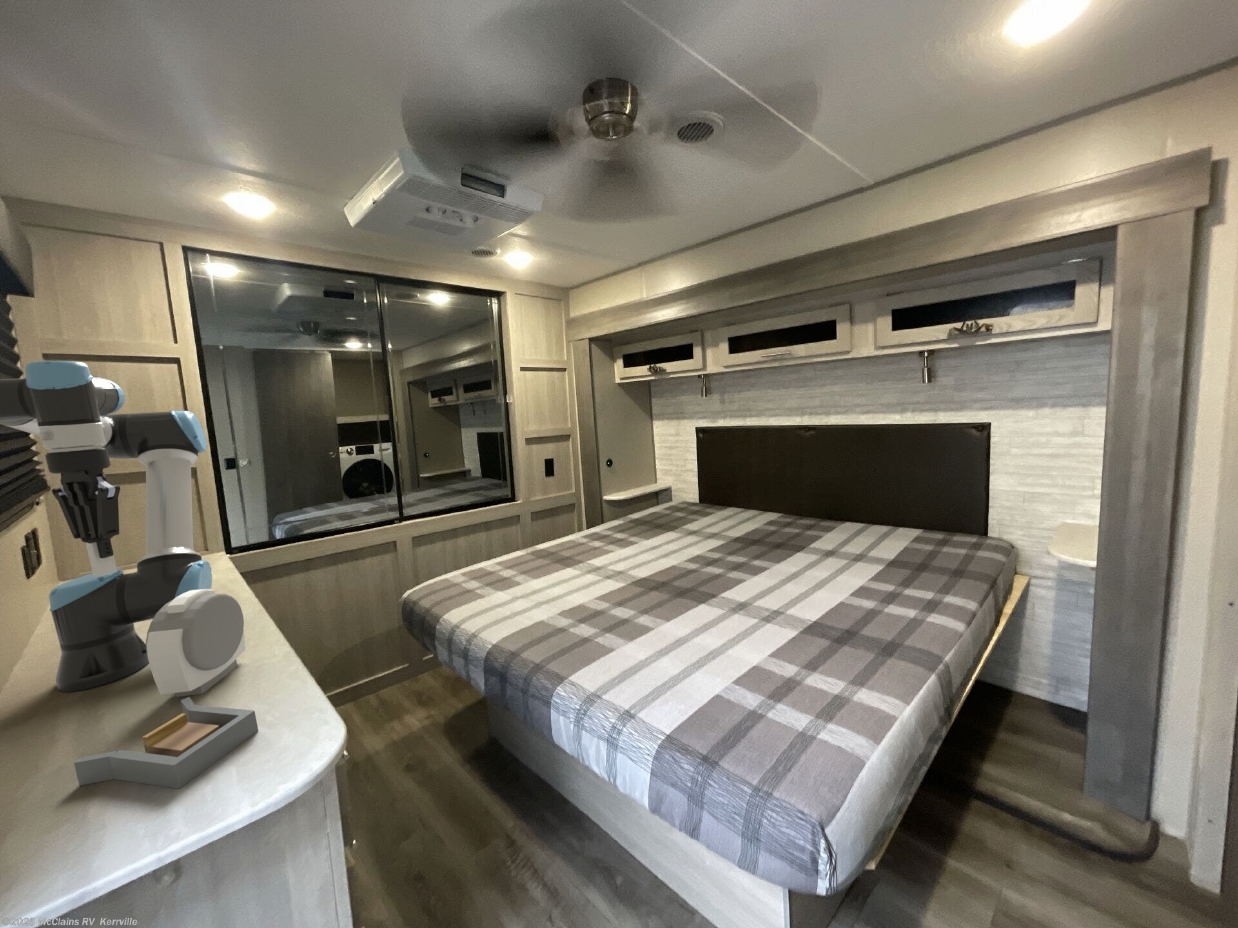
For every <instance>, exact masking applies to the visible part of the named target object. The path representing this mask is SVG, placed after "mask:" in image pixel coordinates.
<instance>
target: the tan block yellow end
mask: <svg viewBox="0 0 1238 928" xmlns="http://www.w3.org/2000/svg"><path fill="white" fill-rule="evenodd" d="M219 729H220V727H219V725H210V724H201V723H191V722H188V720H187V715H186V714H184V713H180V714H178V715H176V716H175V717H174V718H172V719H170V720H168V721H167V722H165V723H163V724H162V725H160V726H158V727H157V728H155V729H153V730H152V731H150V732H148V733H147V734H145V735H143V736H142V742H143V745H144V746H143V747H144V751H145V753H149V754H157V755H165V756H173V757H178V756H180V755H181V754H183V753H184V752H186V751H187V750H189V749H190V748H192V747H193V746H195V745H196V744H198V743H199V742H201V741H202V740H204V739H205V738H207V737H208V736H210V735H211V734H213V733H214V732H216V731H217V730H219Z"/></svg>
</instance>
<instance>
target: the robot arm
mask: <svg viewBox="0 0 1238 928" xmlns="http://www.w3.org/2000/svg"><path fill="white" fill-rule="evenodd" d="M24 369H25V370H24V371H25V378H0V425H1V426H5V427H8V428H9V427H10V428H12V429H15V430H19V431H22V432H26V433H28V434H32V435H34V436H35V435H36V436H38V438H40V439H41V442H42V446H43V449H45V450H49V452H47V453H46V454H45V455H44V456H45V460H46V465H47V467H48V472H49V473H51V474H55V475H57V474H58V475H59V474H60V480H59V481H60V484H61V485H60V487H57V488H52V489H51V493H52V495H53V496H54V498H55V499H56V500H57V502H58V504H59V506H60V508H61V511H62V513H63V516H64V518H65V520H66V523H67V526H68V528H69V530H70V532H71V535H72V537H73V538H74V539H76V540H77V539H80V540H81V542H83V543H85V546H86V552H87V555H88V559H89V563H90V567H91V572H92V573H89V574H86V575H83V576H80V577H77V578H73V579H70V580H69V581H68V580H67V581H66V582H64V583H61V584H59V585H57V586H55V587H54V588H52V590H50V592H49V595H48V599H49V607H50V608H49V612H51V616H52V619H53V623H54V624H53V625H54V628H55V632H56V635H57V639H58V642H59V647H60V651H61V655H60V659H59V663H58V668H57V671H56V674H55V675H56V676H55V684H56V688H57V690H58V691H60V690H61V691H60V692H65V693H66V692H69V693H70V692H77V691H84V690H88V689H92V688H96V687H100V686H103V685H106V684H109V683H111V682H114V681H115V682H116V681H117V680H121V679H122V678H125V677H127V676H129V675H132V674H134V673H135V672H137V671H139V670H141V669H142V668H144V667H146V666H147V665H148V664H149V660H148V655H147V652H146V642H145V641H144V640H143V639H142V638H141V636H140V635H139V634H138V632H137V631H136V628H135V623H141V622H145V621H150V620H151V621H152V620H153V618H154V617H155V615H156V613H157V612H158V611H159V610H160V609H161V608H162V607H163V606H164V605H165V604H167V603H168V602H170V601H171V600H173V599H175V598H176V597H178V596H179V595H181V594H183V593H185V592H188V591H190V590H200V589H212V585H213V584H212V583H213V574H212V566H211V564H210V563H209V561H208V560H204V559H203V557H202V555H201V554H200V553H199V552H197V551H195V550H194V530H193V529H194V528H193V527H194V526H193V525H194V524H193V500H192V499H193V497H192V496H193V494H192V492H193V491H192V489H193V488H192V466H193V465H194V464H195V463H197V462H198V461H199V454H203V453H205V452H206V451H207V447H208V446H207V441H206V437H205V436H206V435H205V433H204V431H203V427H202V426H201V424H200V421H199V419H198V418H197V415H195V413H193V412H191V411H188V410H169V411H151V412H136V413H132V412H131V413H116V412H118V411H119V410H120V409H121V408H122V407H123V406H124V404H125V401H126V395H125V393H124V391H123V388H121V387H120V386H119V385H118V384H117V383H115V382H114V381H112V380H110V379H107V378H104V377H100V376H93V375H92V374H91V372H90V368H89V366H88V365H87V364H86V363H84V362H81V361H74V360H71V361H70V360H40V361H38V360H37V361H32V362H31V361H30V362H28V363H26V365H25V366H24ZM115 413H116V414H115ZM110 459H121V460H128V459H130V460H131V459H137V462H139V463H140V464H142V465H143V466H144V467H145V537H146V538H145V548H146V549H145V555H144V556H143V557H142V558H140V559H139V560H138V561H137V563H136V571H134V572H130V573H124V571H123V570H122V569H121V568H120V567H117V564H116V560H115V554H114V549H113V545H112V542H111V541H112V540H111V539H112V538H113V537H115V536H118V535H120V515H119V513H120V512H119V497H120V496H119V495H120V492H121V486H120V484H119V485H118V484H114V485H112V484H110V483H108V479H107V476H106V475H105V472H104V469H107V468H108V469H109V467H111V465H112V464H111V460H110Z"/></svg>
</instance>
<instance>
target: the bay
mask: <svg viewBox="0 0 1238 928" xmlns="http://www.w3.org/2000/svg"><path fill="white" fill-rule="evenodd" d="M180 703H181V708H182V714H186V715H187V720H188V722H191V723H201V724H210V725H219V727H220V729H219V730H217V731H216V732H214V733H213V734H211V735H210V736H208V737H207V738H205V739H204V740H202V741H201V742H199V743H198V744H196V745H195V746H193V747H192V748H190V749H189V750H187V751H186V752H184V753H183V754H181V755H180V756H178V757H173V756H165V755H157V754H149V753H146V752H141V751H131V750H124V749H119V750H115V751H108V752H104V753H97V754H94V755H93V754H91V755H87V756H83V757H79V758H78V759H77V760H76V761H75V762H73V765H74V768H75V772H76V777H77V780H78V784H79V786H85V785H90V784H91V785H92V784H95V783H100V782H106V781H111V780H116V781H117V780H118V781H124V782H131V783H138V784H145V785H150V786H151V785H153V786H160V787H164V788H165V787H166V788H173V789H181V788H182V787H183V786H185V785H186V784H187V783H189V782H190V781H192V780H193V779H194V778H196V777H197V776H198V775H200V774H202V773H203V772H204V771H206V770H207V769H209V767H211V766H213V765H214V764H215V763H216V762H218V761H219V760H221V758H223V757H224V756H227V755H228V754H229V753H230V752H232V751H233V750H234V749H235V748H238V746H240V745H241V744H243V743H244V742H245V741H246V740H248V739H249V738H251V737H252V736H253V735H255V734H256V733H257V732H259V727H258V722H257V717H256V712H255V710H253V709H243V708H233V707H232V708H231V707H221V706H212V705H201V704H195V702H193V700H192V698H191V697H190V696H188V697H185V698H183V699H181V700H180Z"/></svg>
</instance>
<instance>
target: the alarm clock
mask: <svg viewBox="0 0 1238 928" xmlns="http://www.w3.org/2000/svg"><path fill="white" fill-rule="evenodd" d="M244 619H245V618H244V614H243V609H242V607H241V604H239V601H238V600H237V599H236V598H235V597H233V595H229V594H226V593H215V590H214V588H211V589H200V590H190V591H188V592H185V593H183V594H181V595H179V596H178V597H176V598H175V599H173V600H171V601H170V602H168V603H167V604H165V605H164V606H163V607H162V608H161V609H160V610H159V611H158V612H157V613H156V615H155V617H154V618H153V619H151V622H150V623H149V627H148V629H147V633H146V638H145V644H146V652H147V655H148V660H149V663H148V664H149V667H150V670H151V674H152V676H153V680H154V682H155V685H156V687H157V689H158V691H159V694H160V695H167V694H168V695H169V694H174V695H175V698H178V697H187V696H188V697H189V696H196V695H203V694H204V693H205V692H207V691H209V689H211V688H212V687H214V686H215V684H217V683H218V682H219V681H221V680H222V679H224V678H225V677H226V676H228V674H230V673H231V672H232V671H233V670H235V669H236V668H237V667H238V661H237V659H238V658H239V657H240V656H241V655H242V654H243V653H244V652H245V651H246V640H245V629H244V627H245V620H244Z"/></svg>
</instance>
